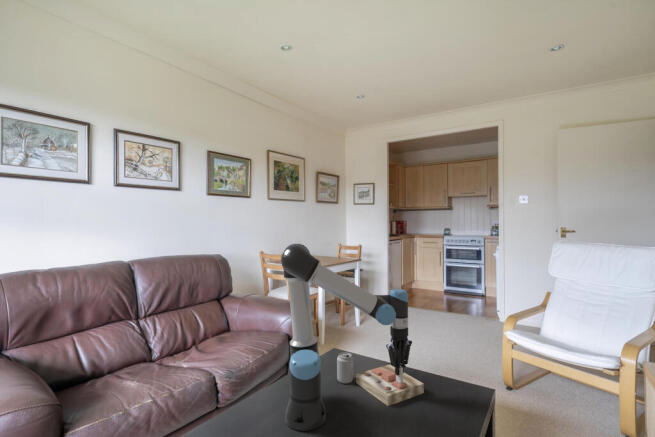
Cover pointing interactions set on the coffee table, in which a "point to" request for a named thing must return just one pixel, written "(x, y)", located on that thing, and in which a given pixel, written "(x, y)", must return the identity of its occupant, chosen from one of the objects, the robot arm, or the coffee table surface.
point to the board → (389, 386)
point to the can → (345, 368)
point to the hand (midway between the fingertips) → (399, 382)
